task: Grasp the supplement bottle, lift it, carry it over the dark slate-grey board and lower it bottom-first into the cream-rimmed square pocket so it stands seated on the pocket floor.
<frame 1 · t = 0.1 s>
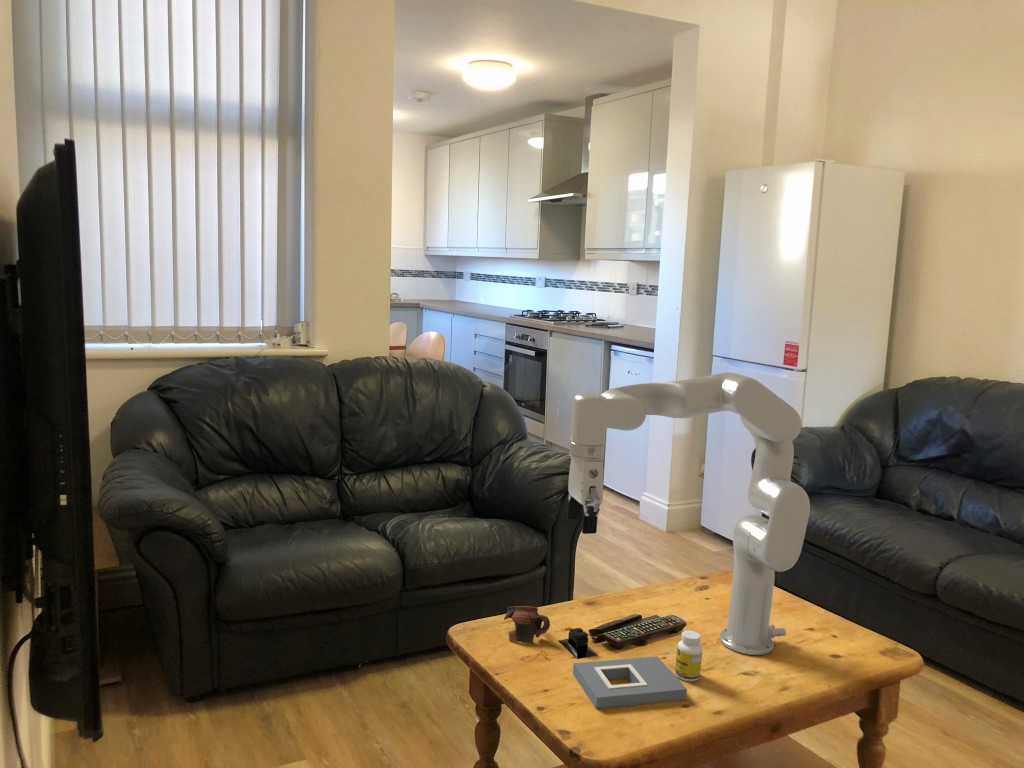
hand: (581, 525, 177), 31 cm above the table, fingers open, 9 cm apart
black stand: (577, 650, 186), on the table
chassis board: (628, 686, 170), on the table
supplement bottle: (687, 676, 176), on the table
pottery mug: (526, 636, 191), on the table
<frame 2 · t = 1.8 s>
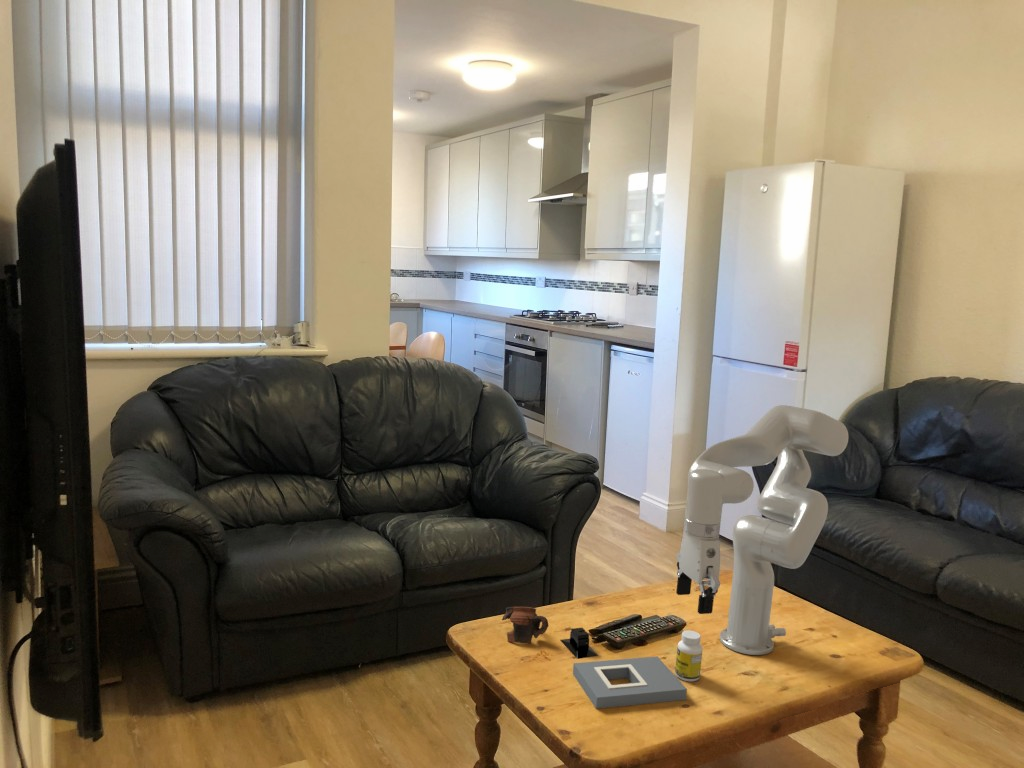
hand: (693, 603, 173), 17 cm above the table, fingers open, 9 cm apart
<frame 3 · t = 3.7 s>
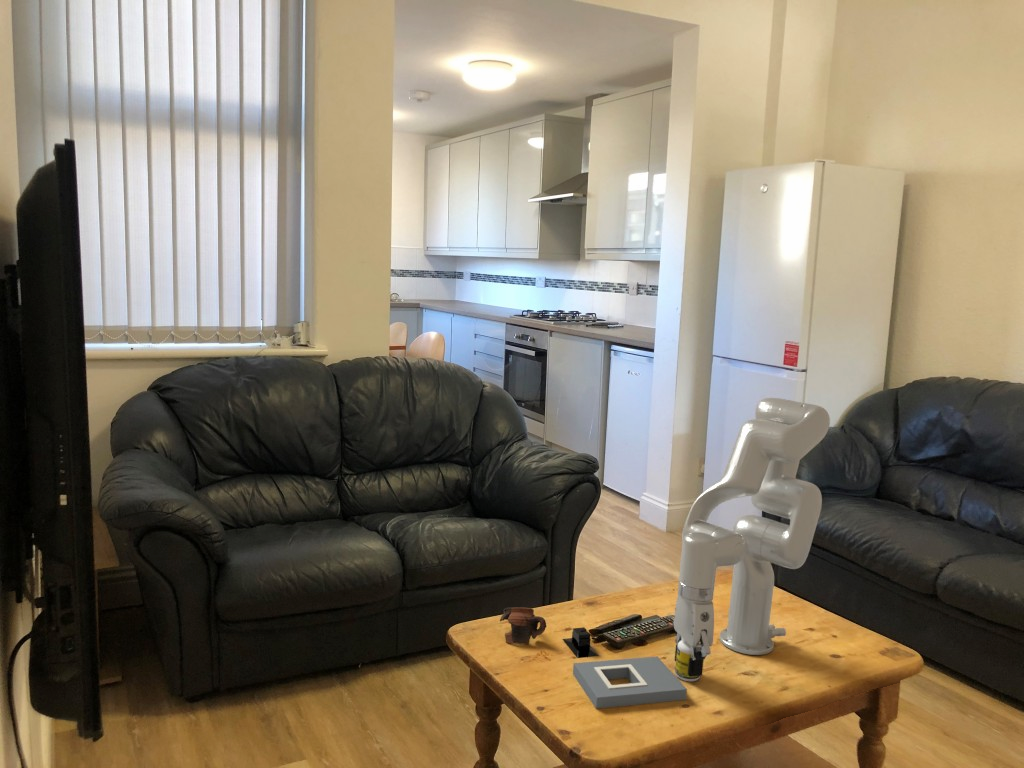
hand: (688, 667, 176), 2 cm above the table, fingers closed on supplement bottle, 5 cm apart
supplement bottle: (687, 676, 176), on the table, touching gripper
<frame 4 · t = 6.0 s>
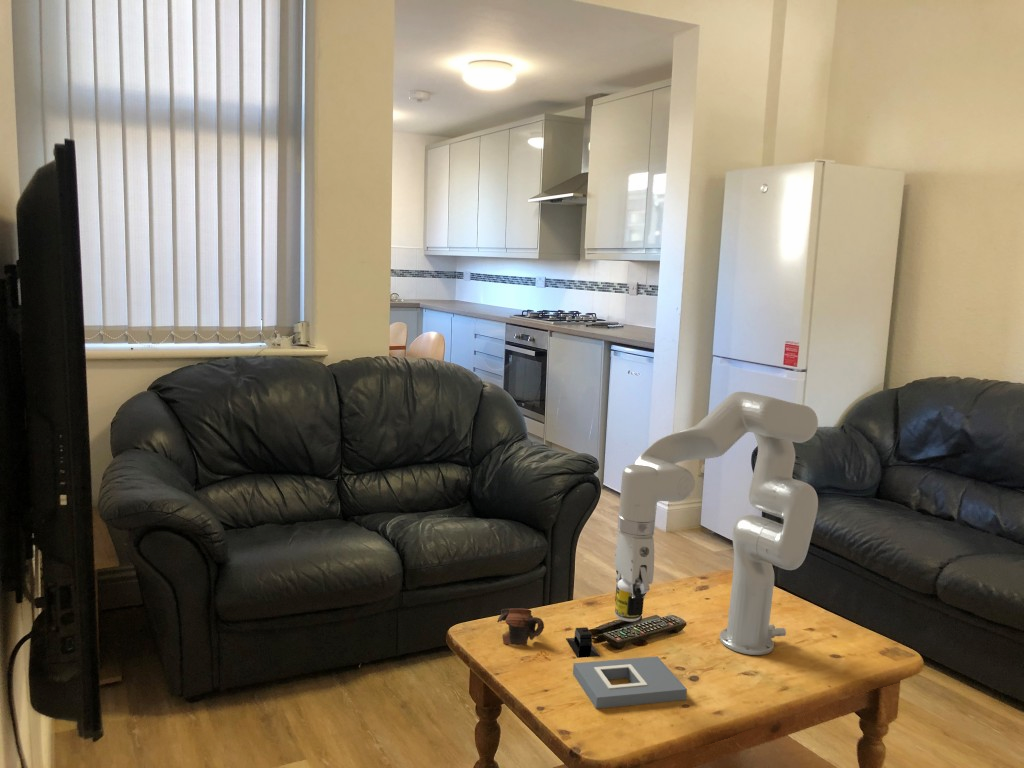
hand: (628, 607, 167), 18 cm above the table, fingers closed on supplement bottle, 5 cm apart
supplement bottle: (627, 617, 168), point 16 cm above the table, touching gripper
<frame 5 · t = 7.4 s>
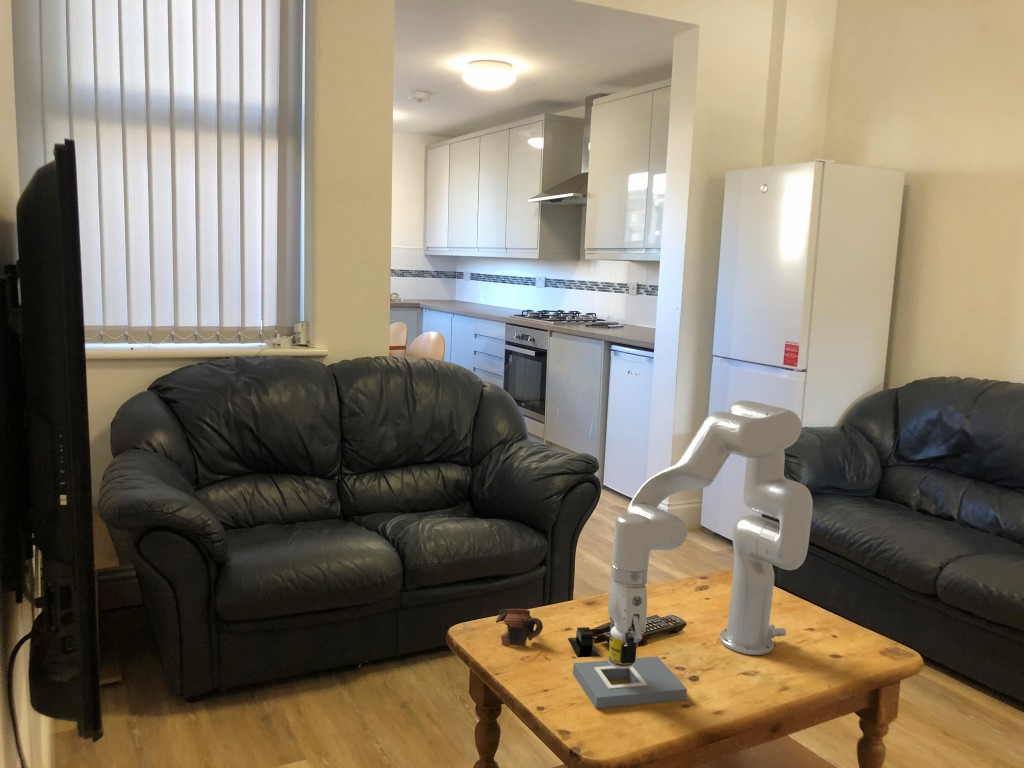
hand: (621, 654, 169), 7 cm above the table, fingers closed on supplement bottle, 5 cm apart
supplement bottle: (620, 664, 169), point 5 cm above the table, touching gripper
when the fingers open (4 cm above the table, at t = 8.4 s): supplement bottle drops 2 cm, resting in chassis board.
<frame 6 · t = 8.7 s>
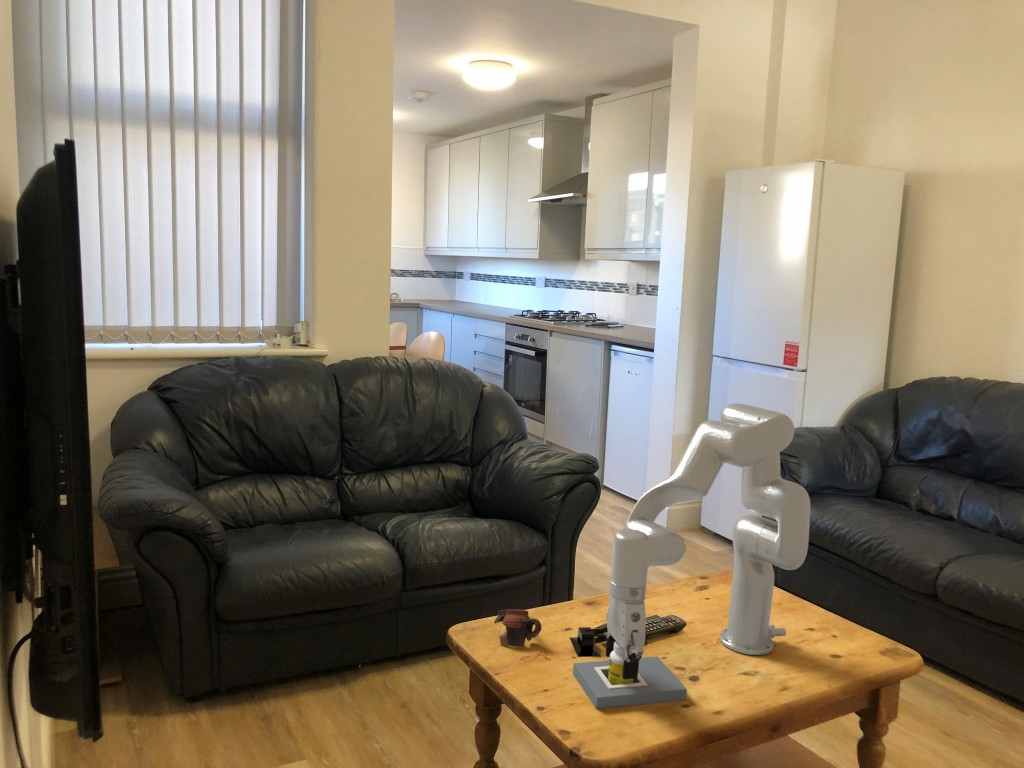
hand: (621, 666, 169), 5 cm above the table, fingers open, 8 cm apart
supplement bottle: (619, 688, 170), resting in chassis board
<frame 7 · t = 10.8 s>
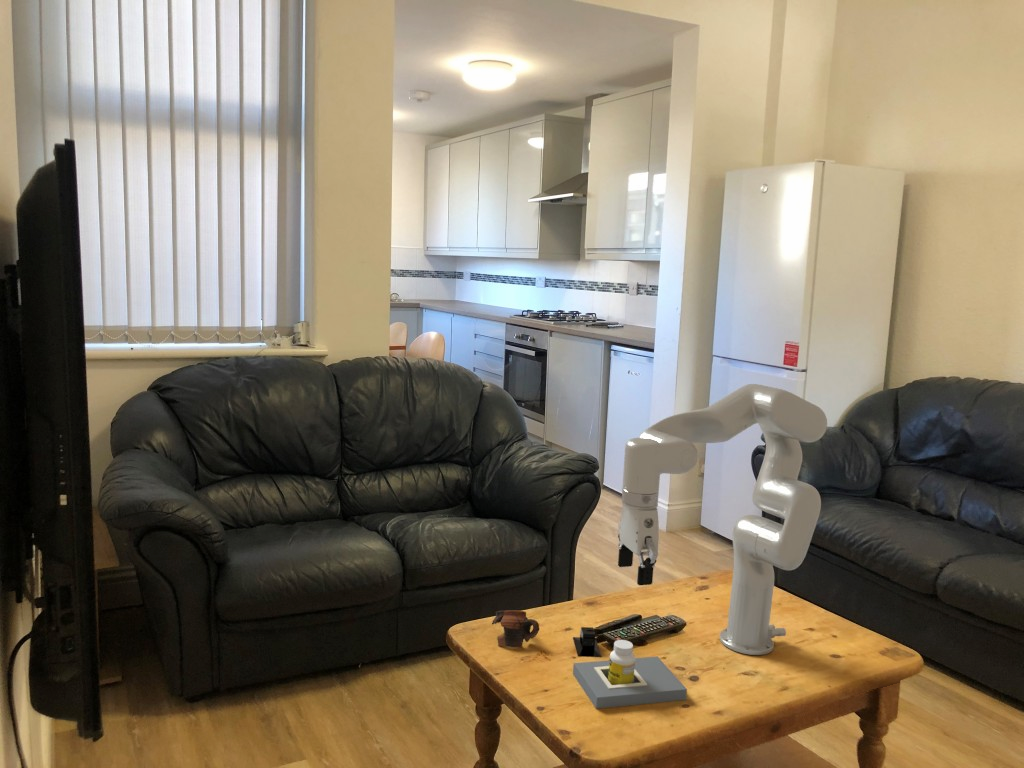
hand: (634, 575, 170), 24 cm above the table, fingers open, 9 cm apart
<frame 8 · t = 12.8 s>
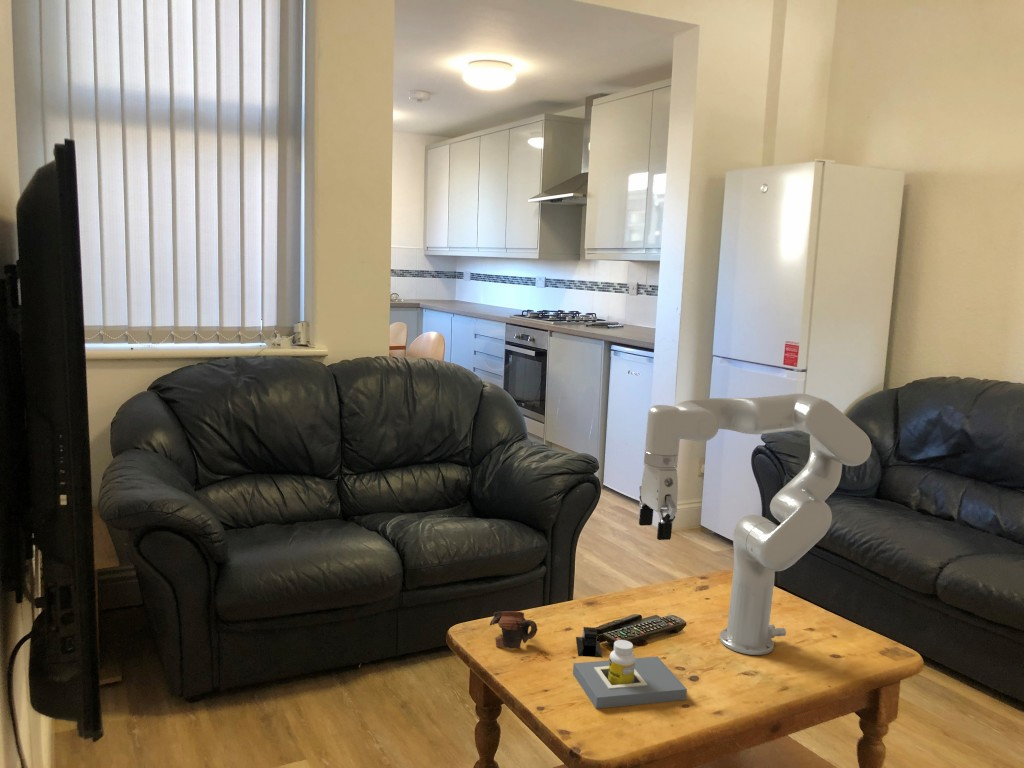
hand: (654, 532, 184), 28 cm above the table, fingers open, 9 cm apart
at the end: supplement bottle 0.2 cm from the target spot on the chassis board, point 0.0 cm above the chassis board's base; supplement bottle tilted 0°; the gripper is holding nothing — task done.
